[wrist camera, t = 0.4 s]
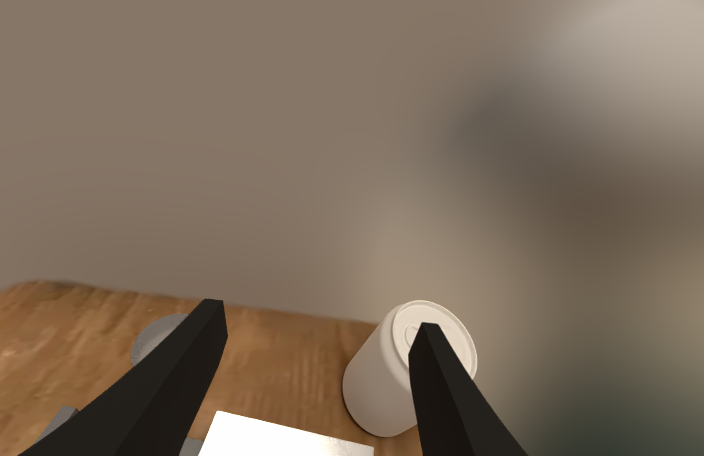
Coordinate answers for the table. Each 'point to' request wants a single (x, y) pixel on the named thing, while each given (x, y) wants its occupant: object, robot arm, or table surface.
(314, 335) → the table surface
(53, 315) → the table surface
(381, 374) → the beverage can
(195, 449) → the tray
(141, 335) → the disc
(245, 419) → the box
